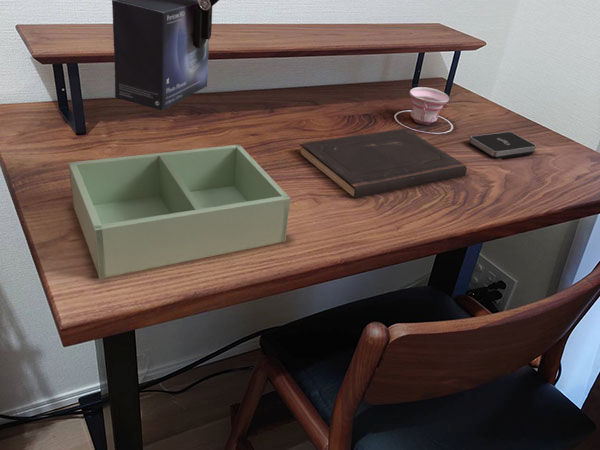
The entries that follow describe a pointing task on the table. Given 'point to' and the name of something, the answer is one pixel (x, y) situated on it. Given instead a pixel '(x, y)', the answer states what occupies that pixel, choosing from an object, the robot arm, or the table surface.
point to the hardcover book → (381, 162)
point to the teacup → (426, 106)
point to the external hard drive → (502, 145)
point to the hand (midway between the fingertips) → (164, 38)
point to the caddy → (175, 207)
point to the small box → (157, 52)
